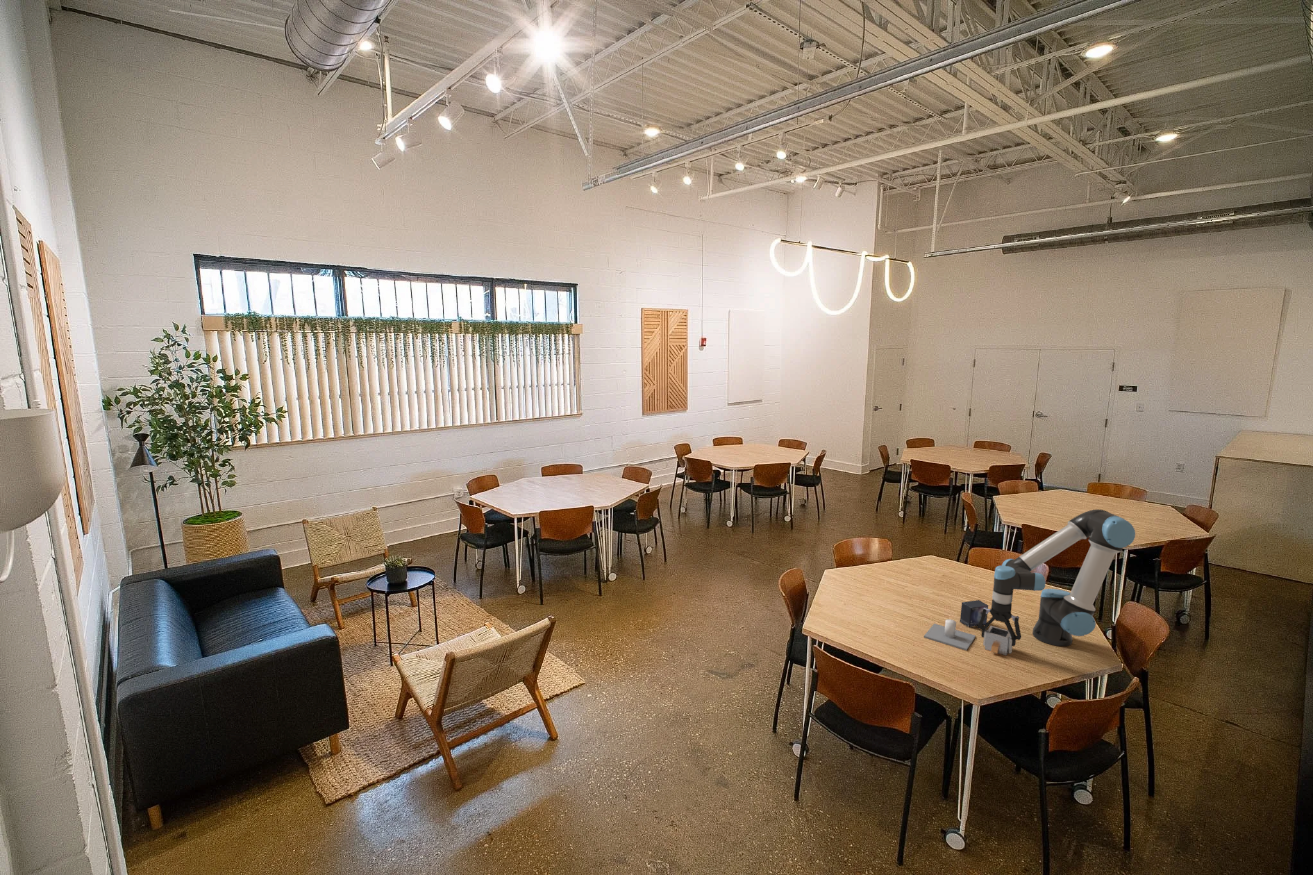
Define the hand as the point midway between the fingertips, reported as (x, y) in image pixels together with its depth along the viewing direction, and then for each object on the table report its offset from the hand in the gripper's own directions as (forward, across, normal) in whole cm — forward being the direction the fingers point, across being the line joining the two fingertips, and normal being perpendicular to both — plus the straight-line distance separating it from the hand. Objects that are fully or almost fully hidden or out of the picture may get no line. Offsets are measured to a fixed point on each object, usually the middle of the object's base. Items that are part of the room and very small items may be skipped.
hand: (997, 648), depth 256 cm
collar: (0, 0, +1) cm, 1 cm away
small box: (0, +14, -19) cm, 24 cm away
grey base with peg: (0, +19, +3) cm, 19 cm away
